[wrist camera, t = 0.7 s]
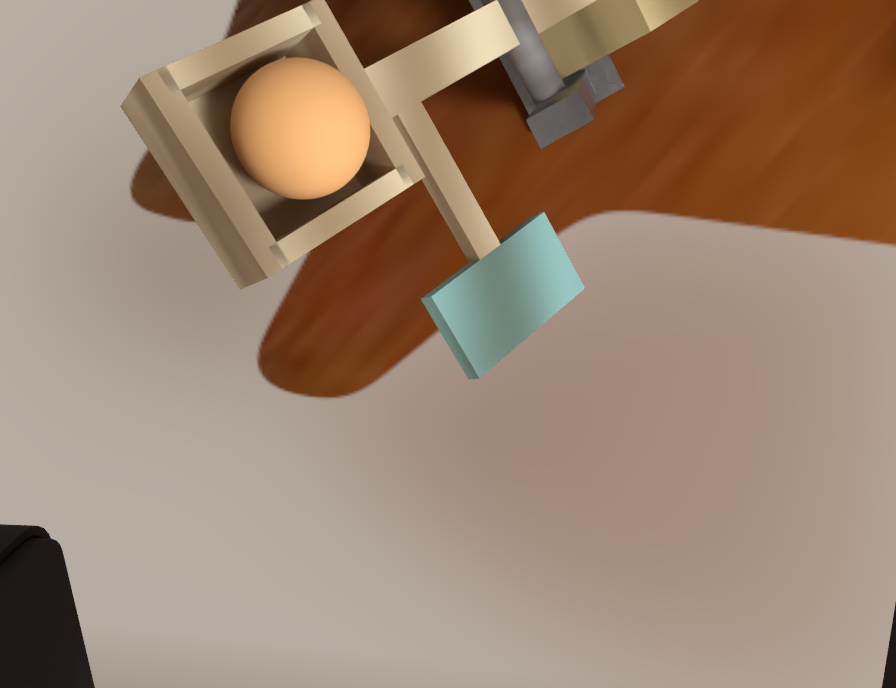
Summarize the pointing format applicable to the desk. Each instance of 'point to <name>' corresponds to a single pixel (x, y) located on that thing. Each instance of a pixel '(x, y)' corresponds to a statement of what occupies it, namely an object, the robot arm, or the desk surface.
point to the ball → (300, 128)
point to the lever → (387, 151)
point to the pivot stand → (565, 97)
